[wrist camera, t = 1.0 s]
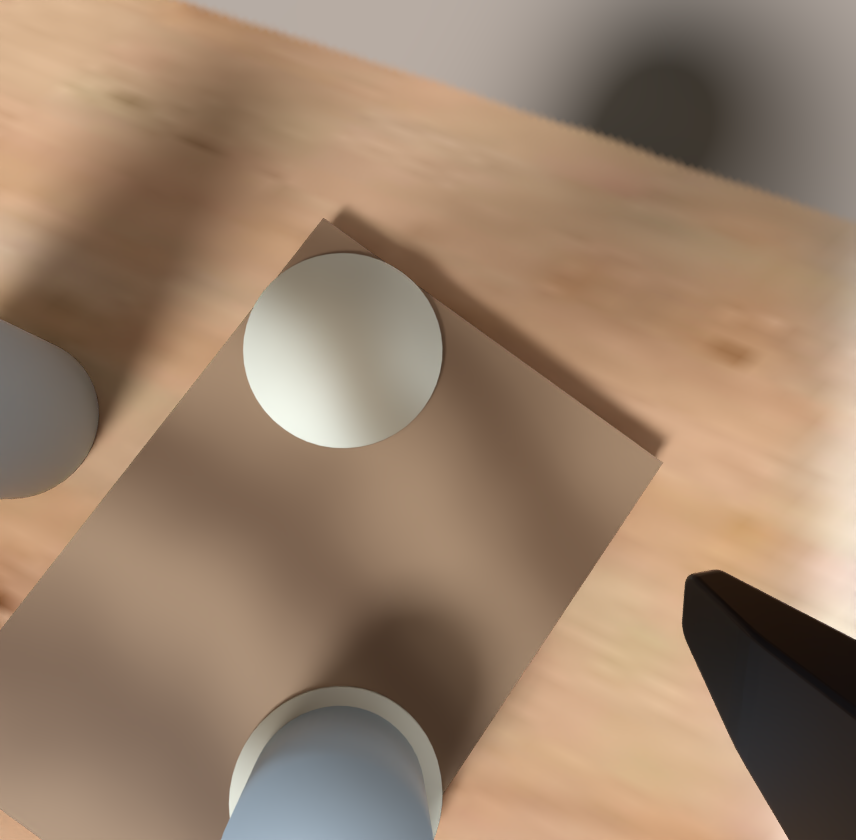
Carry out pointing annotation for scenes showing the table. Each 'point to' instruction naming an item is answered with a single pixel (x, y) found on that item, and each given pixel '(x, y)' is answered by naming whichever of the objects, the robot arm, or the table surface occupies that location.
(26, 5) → the table surface
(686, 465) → the table surface
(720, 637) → the robot arm
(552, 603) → the board
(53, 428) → the tall pin
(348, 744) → the short pin
